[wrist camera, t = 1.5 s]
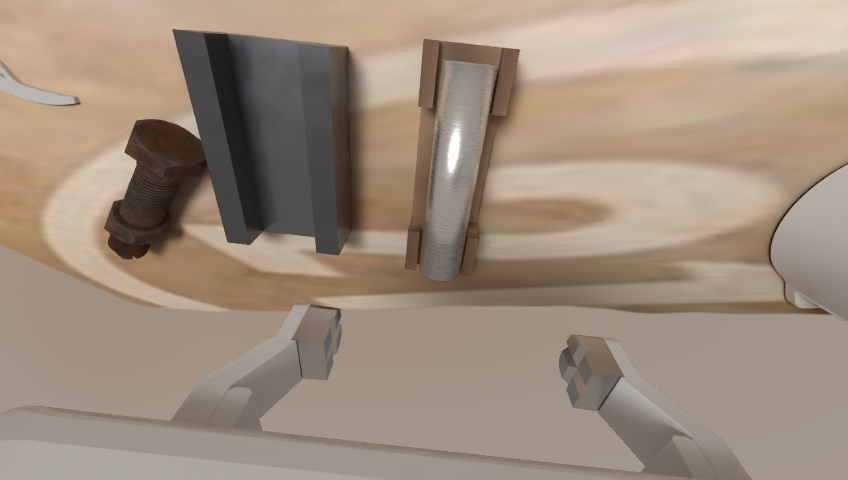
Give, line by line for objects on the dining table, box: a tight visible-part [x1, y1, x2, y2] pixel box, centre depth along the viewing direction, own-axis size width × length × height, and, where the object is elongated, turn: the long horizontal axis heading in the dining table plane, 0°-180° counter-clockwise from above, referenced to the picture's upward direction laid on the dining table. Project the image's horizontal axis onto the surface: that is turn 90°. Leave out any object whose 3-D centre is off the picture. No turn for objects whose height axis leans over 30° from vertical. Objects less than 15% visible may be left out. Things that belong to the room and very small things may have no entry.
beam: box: [405, 39, 520, 276], centre depth 27 cm, size 6×18×4 cm, turn 175°
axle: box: [419, 60, 498, 281], centre depth 24 cm, size 16×4×4 cm, turn 175°
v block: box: [172, 29, 352, 255], centre depth 27 cm, size 10×16×4 cm, turn 175°
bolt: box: [104, 119, 207, 259], centre depth 30 cm, size 6×5×15 cm
